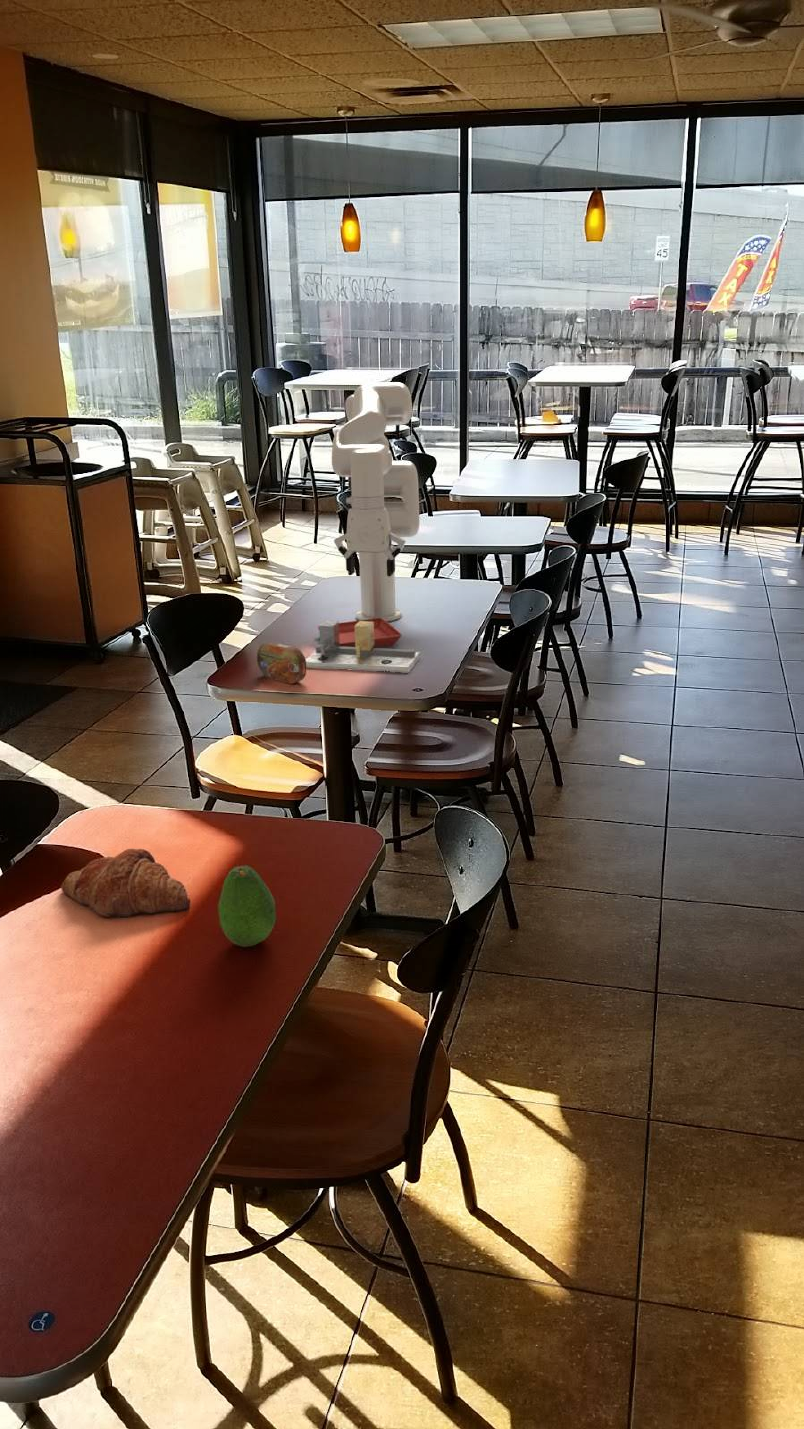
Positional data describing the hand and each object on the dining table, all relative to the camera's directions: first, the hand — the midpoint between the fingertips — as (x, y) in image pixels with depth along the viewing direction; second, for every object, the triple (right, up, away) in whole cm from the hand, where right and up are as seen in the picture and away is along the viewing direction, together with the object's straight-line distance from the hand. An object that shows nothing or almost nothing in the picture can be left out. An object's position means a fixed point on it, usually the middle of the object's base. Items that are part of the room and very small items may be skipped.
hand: (370, 574), depth 274 cm
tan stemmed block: (-2, -19, +5) cm, 20 cm away
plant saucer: (-4, -15, +23) cm, 28 cm away
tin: (-20, -25, -5) cm, 33 cm away
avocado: (-14, -66, -114) cm, 132 cm away
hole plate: (-2, -21, +5) cm, 22 cm away
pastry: (-34, -62, -101) cm, 123 cm away
